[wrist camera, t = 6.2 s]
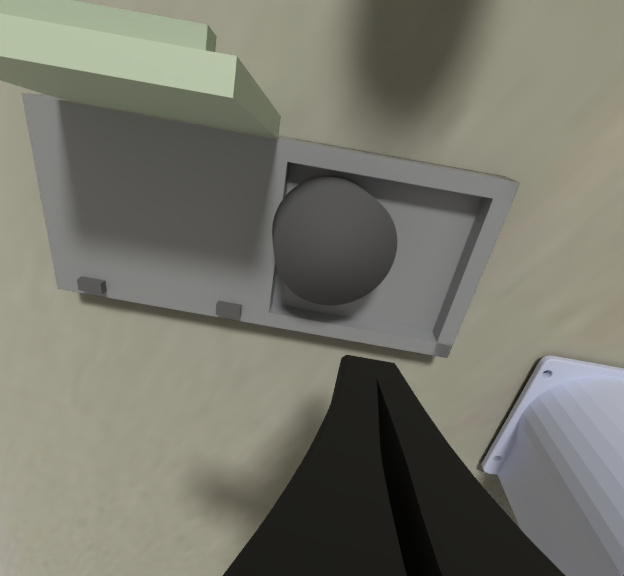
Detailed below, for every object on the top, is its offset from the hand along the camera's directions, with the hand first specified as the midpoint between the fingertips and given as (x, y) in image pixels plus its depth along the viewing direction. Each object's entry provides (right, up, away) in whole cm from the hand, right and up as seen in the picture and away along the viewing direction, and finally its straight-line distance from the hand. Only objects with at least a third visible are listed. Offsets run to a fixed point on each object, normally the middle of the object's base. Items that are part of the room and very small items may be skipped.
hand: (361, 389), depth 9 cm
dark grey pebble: (-1, +5, +7) cm, 9 cm away
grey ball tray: (-4, +5, +9) cm, 11 cm away
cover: (-7, +8, +2) cm, 11 cm away
